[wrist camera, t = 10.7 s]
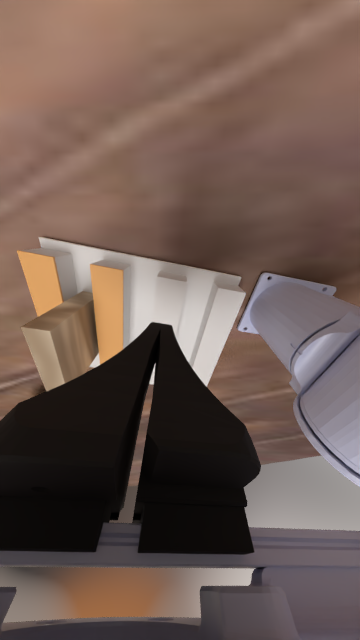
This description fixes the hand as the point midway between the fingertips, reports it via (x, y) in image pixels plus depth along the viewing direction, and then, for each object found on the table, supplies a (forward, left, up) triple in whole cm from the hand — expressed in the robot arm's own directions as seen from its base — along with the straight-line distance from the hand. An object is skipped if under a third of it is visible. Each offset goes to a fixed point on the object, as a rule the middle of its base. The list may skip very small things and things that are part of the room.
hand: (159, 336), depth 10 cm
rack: (+3, +6, -10) cm, 12 cm away
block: (+9, +6, -9) cm, 14 cm away
